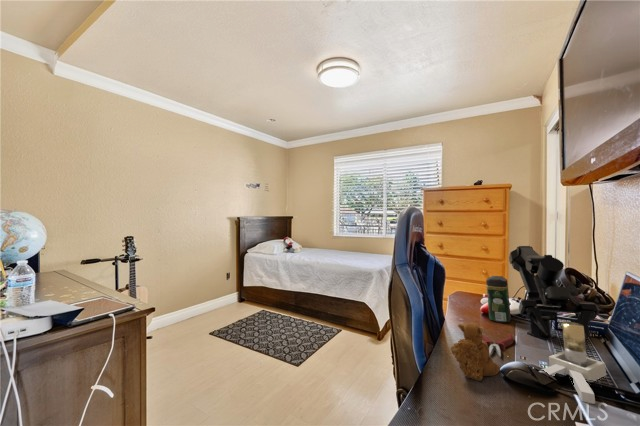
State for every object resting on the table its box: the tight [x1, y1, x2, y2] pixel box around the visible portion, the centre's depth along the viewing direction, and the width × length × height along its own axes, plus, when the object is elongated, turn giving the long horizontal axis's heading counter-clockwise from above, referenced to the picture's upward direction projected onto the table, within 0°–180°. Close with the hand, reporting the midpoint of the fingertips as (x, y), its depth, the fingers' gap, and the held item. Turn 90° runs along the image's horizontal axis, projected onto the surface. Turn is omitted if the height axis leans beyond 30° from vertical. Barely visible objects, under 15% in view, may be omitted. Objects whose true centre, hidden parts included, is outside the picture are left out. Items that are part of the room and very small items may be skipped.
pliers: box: [482, 333, 515, 358], centre depth 92 cm, size 12×20×3 cm, turn 148°
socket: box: [541, 350, 607, 405], centre depth 70 cm, size 20×13×4 cm, turn 113°
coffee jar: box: [485, 275, 512, 323], centre depth 118 cm, size 10×8×19 cm
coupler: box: [561, 321, 588, 368], centre depth 75 cm, size 4×4×13 cm
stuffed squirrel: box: [449, 321, 501, 382], centre depth 76 cm, size 10×14×13 cm
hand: (566, 336), depth 79 cm, fingers open, 9 cm apart
